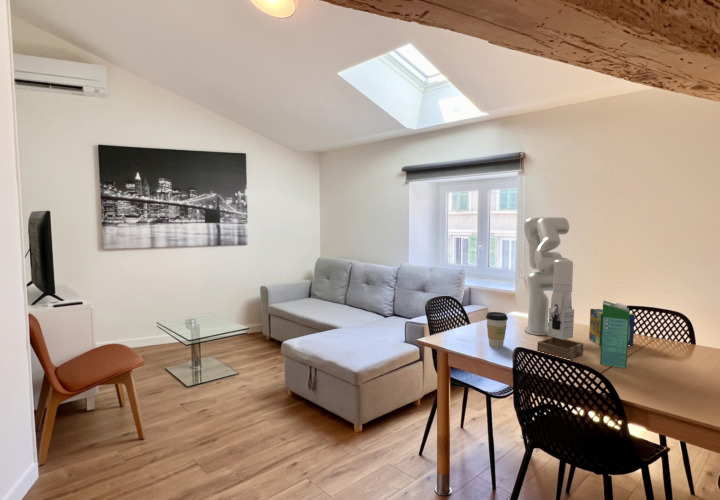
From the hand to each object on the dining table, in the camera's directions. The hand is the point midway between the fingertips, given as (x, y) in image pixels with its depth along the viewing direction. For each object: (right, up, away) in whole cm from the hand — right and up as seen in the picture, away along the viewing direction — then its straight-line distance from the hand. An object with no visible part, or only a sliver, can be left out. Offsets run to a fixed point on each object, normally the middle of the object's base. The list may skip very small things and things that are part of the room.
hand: (560, 327), depth 177 cm
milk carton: (+16, -13, -10) cm, 23 cm away
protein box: (+32, -11, +17) cm, 38 cm away
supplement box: (0, -4, 0) cm, 4 cm away
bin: (0, -12, +1) cm, 12 cm away
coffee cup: (-24, -11, +13) cm, 29 cm away
